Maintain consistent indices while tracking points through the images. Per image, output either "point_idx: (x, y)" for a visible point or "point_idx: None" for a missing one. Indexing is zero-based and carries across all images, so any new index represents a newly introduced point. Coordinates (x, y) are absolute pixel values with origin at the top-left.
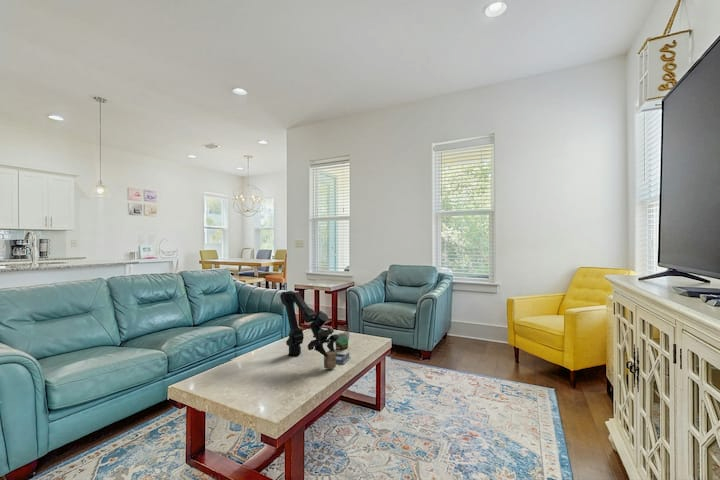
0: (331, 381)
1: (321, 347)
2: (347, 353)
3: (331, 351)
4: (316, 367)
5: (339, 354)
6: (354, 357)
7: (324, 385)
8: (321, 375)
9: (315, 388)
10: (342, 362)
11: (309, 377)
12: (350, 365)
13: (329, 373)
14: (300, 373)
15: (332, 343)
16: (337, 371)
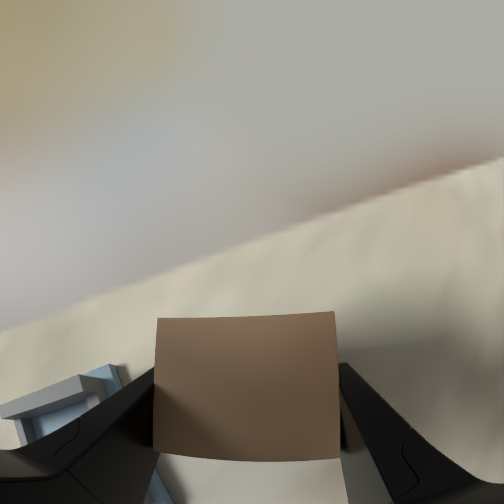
0: (402, 189)
1: (461, 481)
2: (10, 408)
3: (178, 411)
4: (337, 497)
5: None
6: (9, 386)
7: (455, 180)
8: (415, 318)
9: (500, 187)
10: (108, 384)
11: (493, 341)
12: (103, 312)
13: (340, 308)
14: (497, 448)
15: (26, 461)
16: (259, 296)
